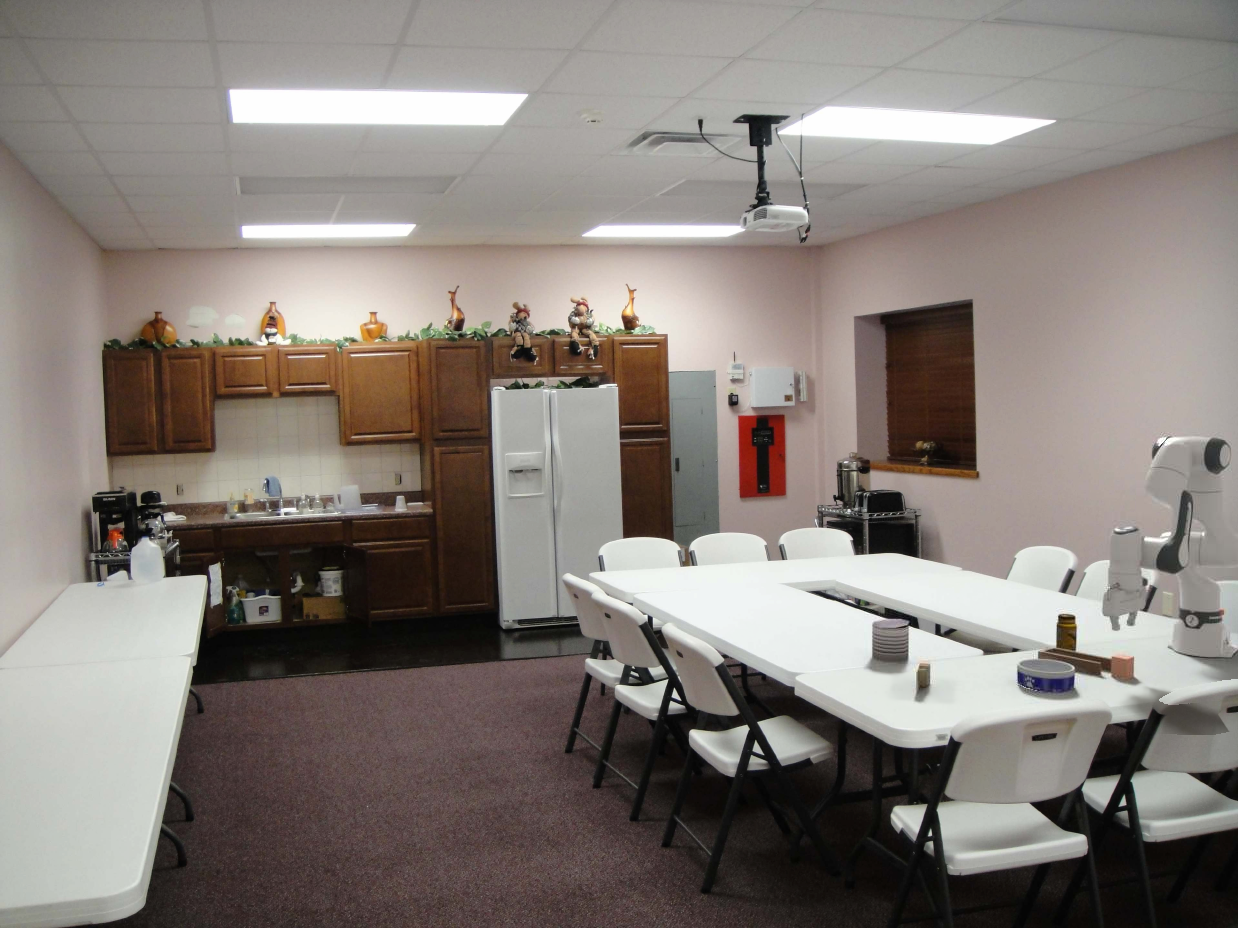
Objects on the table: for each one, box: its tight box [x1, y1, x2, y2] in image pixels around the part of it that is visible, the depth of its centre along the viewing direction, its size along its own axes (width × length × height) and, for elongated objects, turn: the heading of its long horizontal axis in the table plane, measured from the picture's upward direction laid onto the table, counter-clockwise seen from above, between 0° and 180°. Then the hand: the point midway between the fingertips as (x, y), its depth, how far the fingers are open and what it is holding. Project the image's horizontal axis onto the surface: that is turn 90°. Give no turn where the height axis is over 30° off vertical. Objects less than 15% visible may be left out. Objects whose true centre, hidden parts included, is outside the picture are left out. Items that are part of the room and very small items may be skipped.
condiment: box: [1045, 613, 1078, 652], centre depth 323 cm, size 7×8×12 cm
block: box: [1110, 653, 1135, 680], centre depth 293 cm, size 4×4×6 cm
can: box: [871, 618, 910, 664], centre depth 316 cm, size 11×11×12 cm
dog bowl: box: [1016, 658, 1076, 694], centre depth 285 cm, size 15×15×6 cm
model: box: [915, 659, 931, 694], centre depth 283 cm, size 3×11×8 cm, turn 160°
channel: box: [1037, 646, 1112, 676], centre depth 305 cm, size 8×19×4 cm, turn 38°
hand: (1123, 627), depth 293 cm, fingers open, 8 cm apart
